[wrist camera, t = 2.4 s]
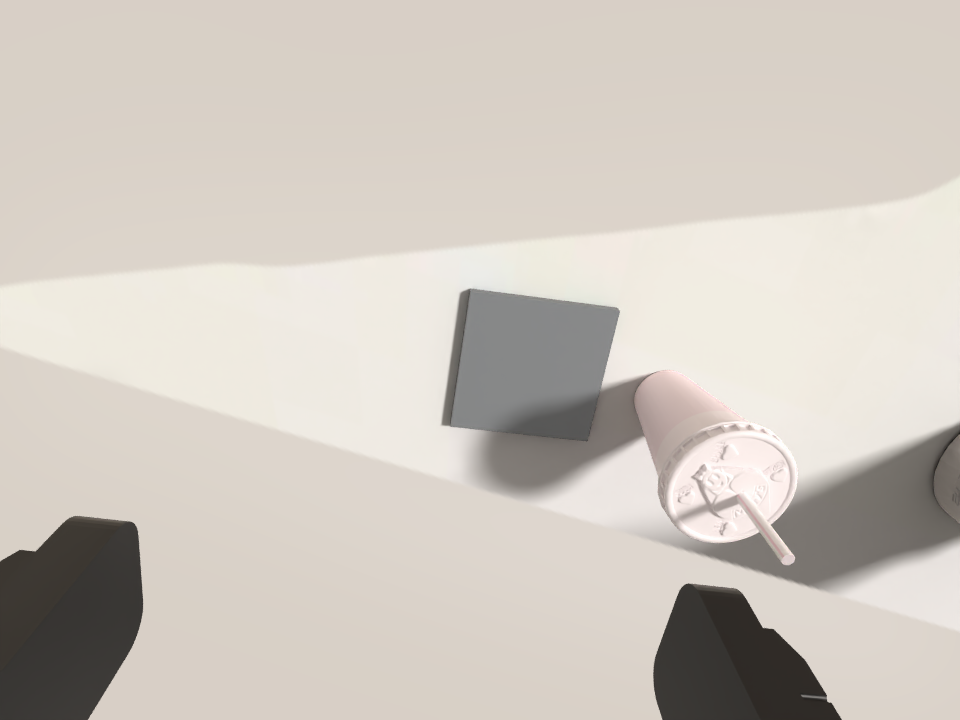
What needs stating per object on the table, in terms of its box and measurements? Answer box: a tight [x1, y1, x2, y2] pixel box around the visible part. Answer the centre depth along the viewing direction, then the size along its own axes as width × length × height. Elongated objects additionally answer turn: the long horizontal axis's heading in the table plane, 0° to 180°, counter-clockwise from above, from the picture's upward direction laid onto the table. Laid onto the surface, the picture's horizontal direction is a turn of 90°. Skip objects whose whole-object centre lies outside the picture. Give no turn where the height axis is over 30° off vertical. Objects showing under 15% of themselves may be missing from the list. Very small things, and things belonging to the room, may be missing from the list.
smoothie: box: [634, 370, 798, 565], centre depth 31 cm, size 6×6×14 cm
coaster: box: [451, 289, 620, 441], centre depth 36 cm, size 8×8×1 cm
